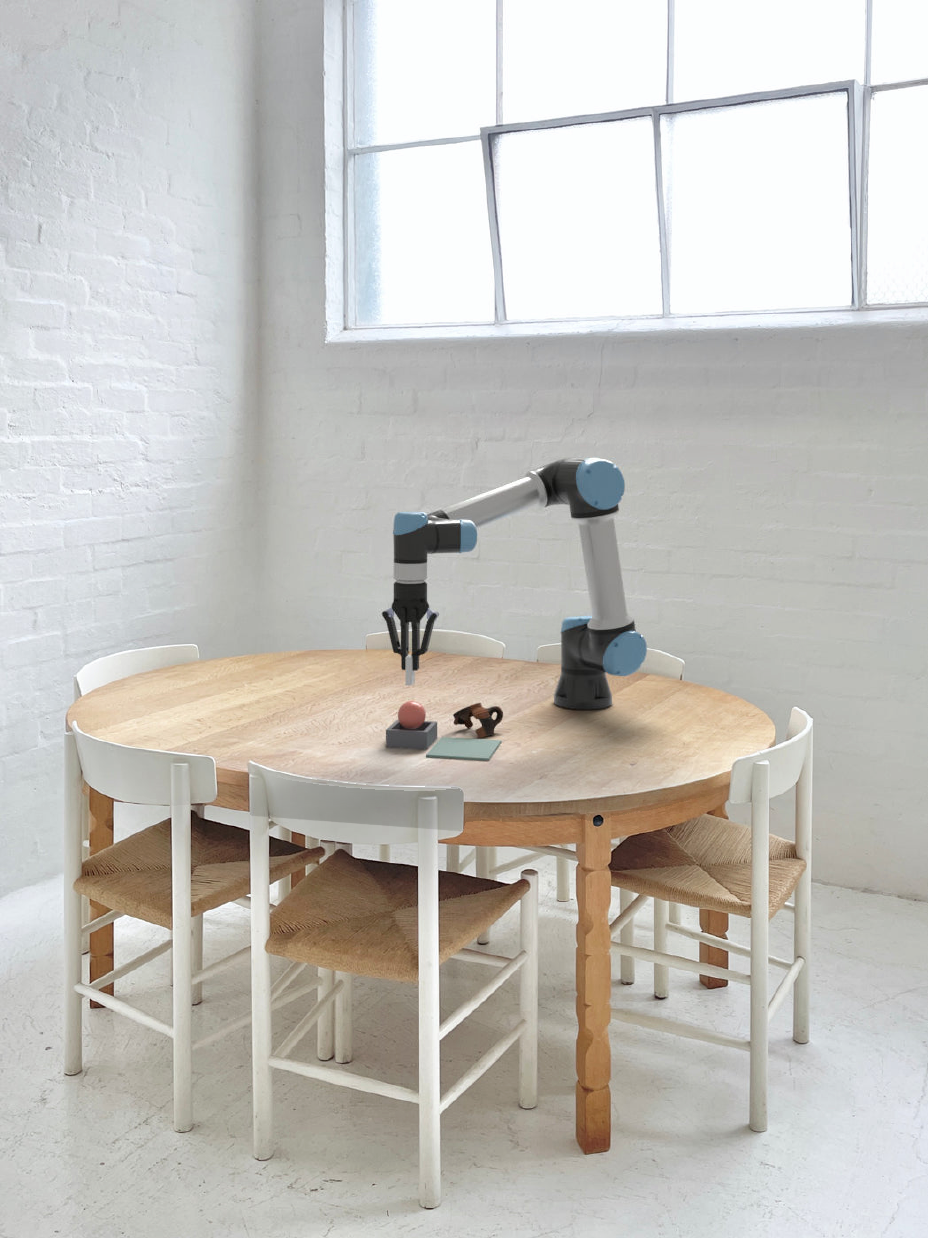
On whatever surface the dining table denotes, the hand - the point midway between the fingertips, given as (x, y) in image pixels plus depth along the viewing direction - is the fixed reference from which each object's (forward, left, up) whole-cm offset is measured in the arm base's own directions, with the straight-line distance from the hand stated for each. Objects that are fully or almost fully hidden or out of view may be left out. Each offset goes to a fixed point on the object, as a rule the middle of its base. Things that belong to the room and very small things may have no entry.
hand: (410, 684), depth 261 cm
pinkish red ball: (0, 0, -11) cm, 11 cm away
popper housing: (0, 0, -14) cm, 14 cm away
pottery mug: (-13, -12, -14) cm, 23 cm away
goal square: (-13, +3, -14) cm, 19 cm away
